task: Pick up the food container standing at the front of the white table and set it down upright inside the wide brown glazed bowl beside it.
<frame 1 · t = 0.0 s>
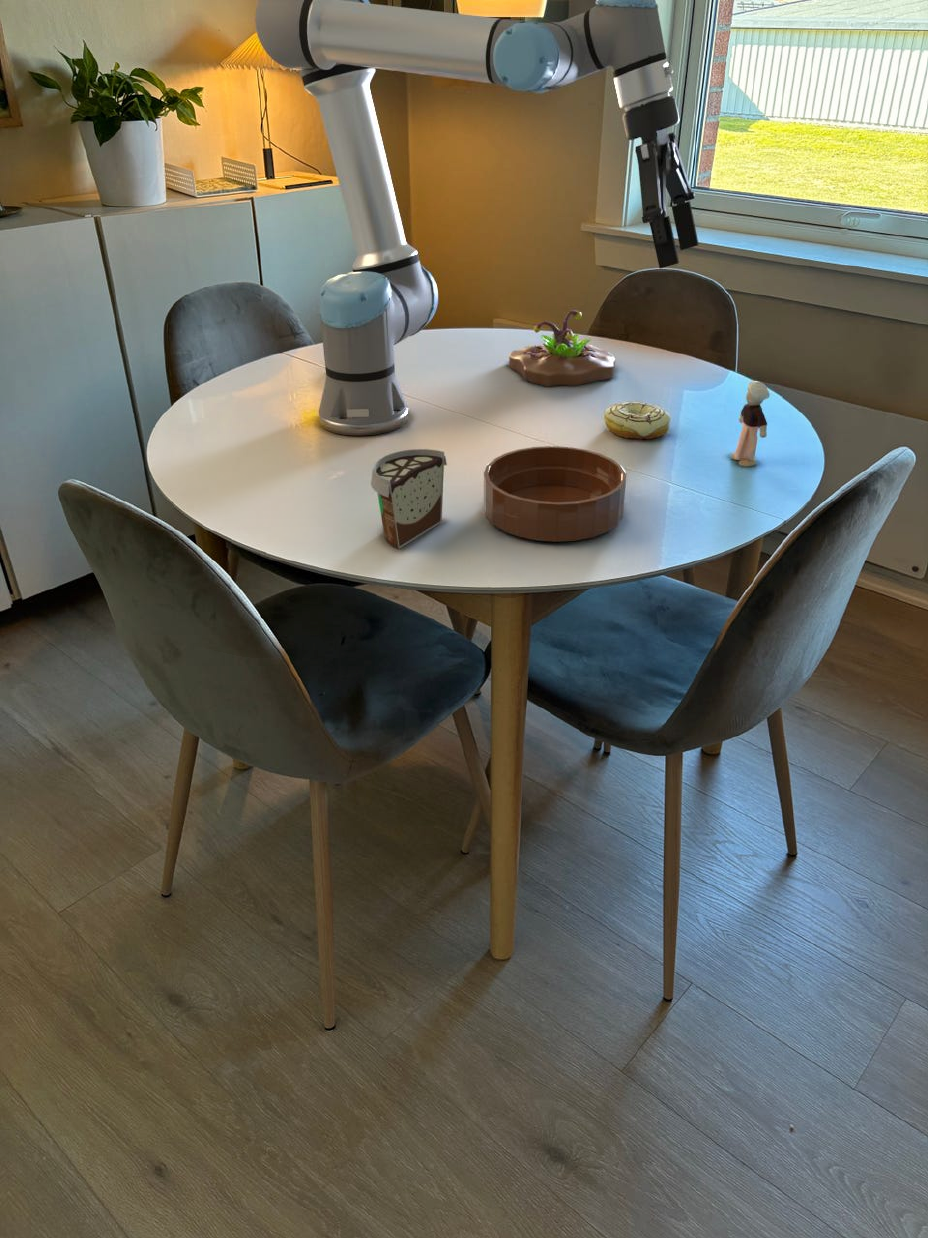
hand: (679, 256, 139), 28 cm above the table, tool tilted 20°, fingers open, 13 cm apart
decorated donut: (635, 431, 156), on the table
bowl: (553, 512, 130), on the table
grandmother figurine: (744, 463, 144), on the table
food container: (403, 530, 126), on the table
plant: (564, 370, 183), on the table
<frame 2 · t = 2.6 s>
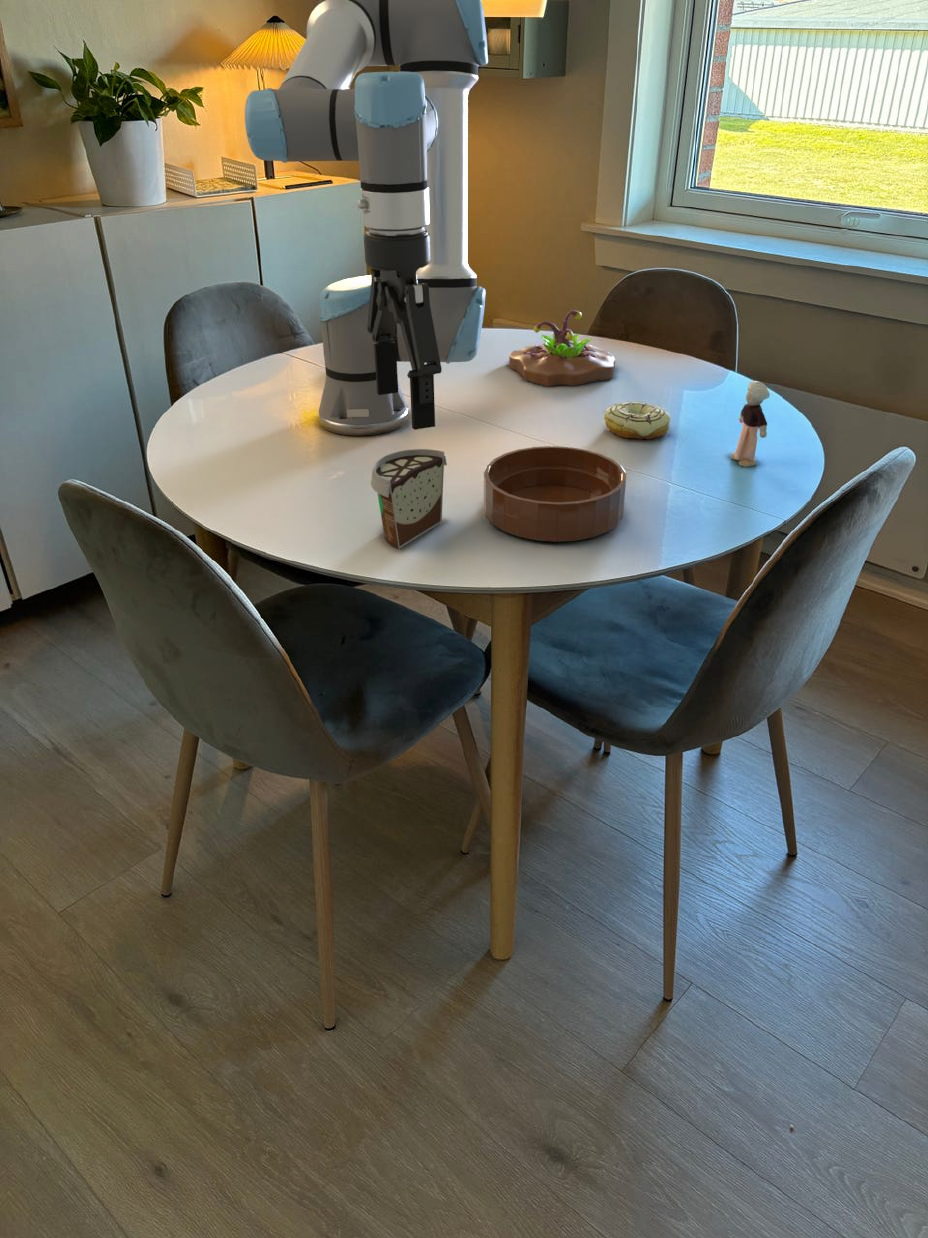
hand: (404, 409, 117), 17 cm above the table, tool pointing down, fingers open, 13 cm apart
nothing on the table moved.
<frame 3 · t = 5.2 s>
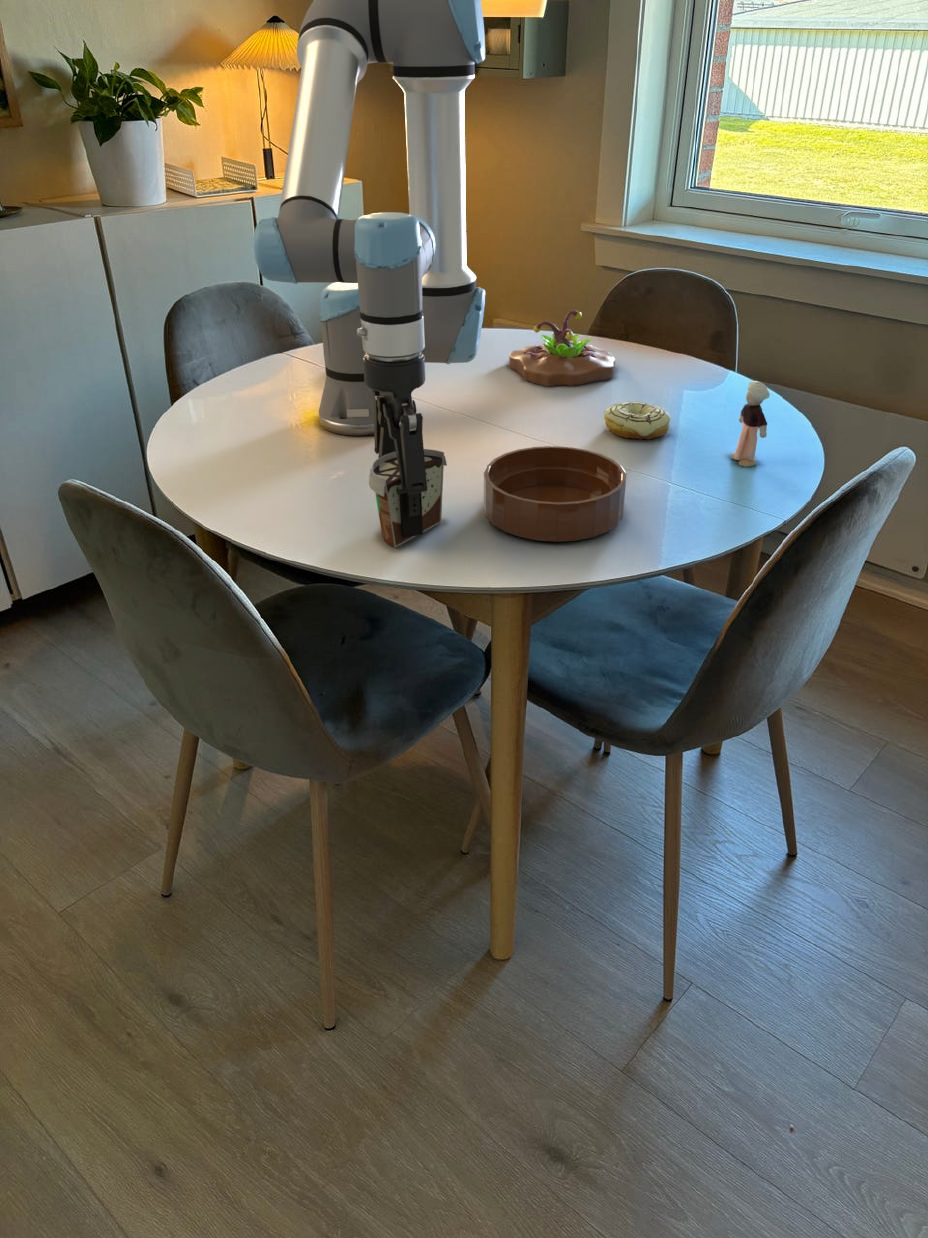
hand: (402, 521, 125), 1 cm above the table, tool pointing down, fingers closed on food container, 8 cm apart
food container: (401, 529, 126), on the table, touching gripper
everything else where it was.
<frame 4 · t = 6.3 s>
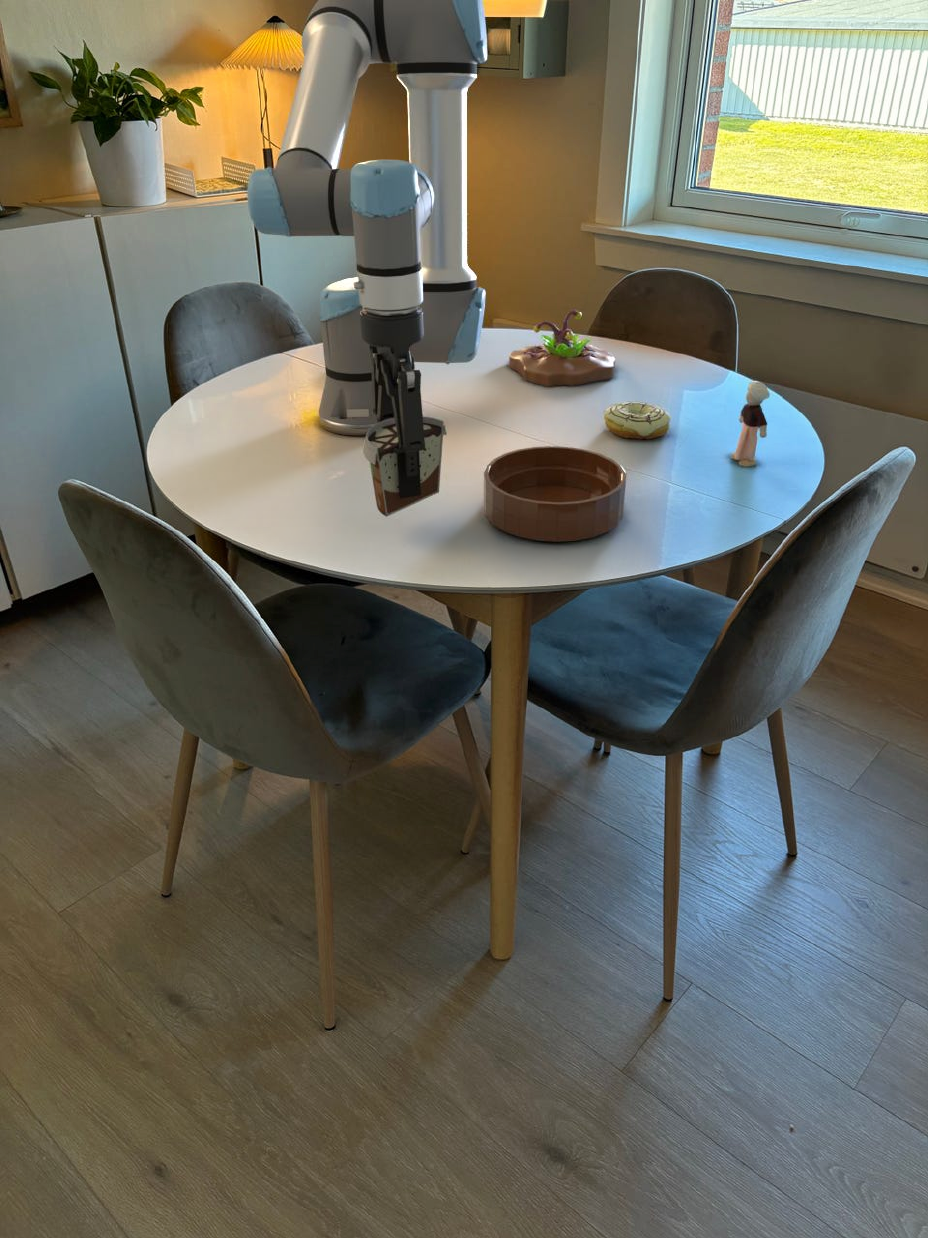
hand: (400, 483, 123), 7 cm above the table, tool pointing down, fingers closed on food container, 7 cm apart
food container: (397, 497, 125), point 4 cm above the table, touching gripper
everything else where it was.
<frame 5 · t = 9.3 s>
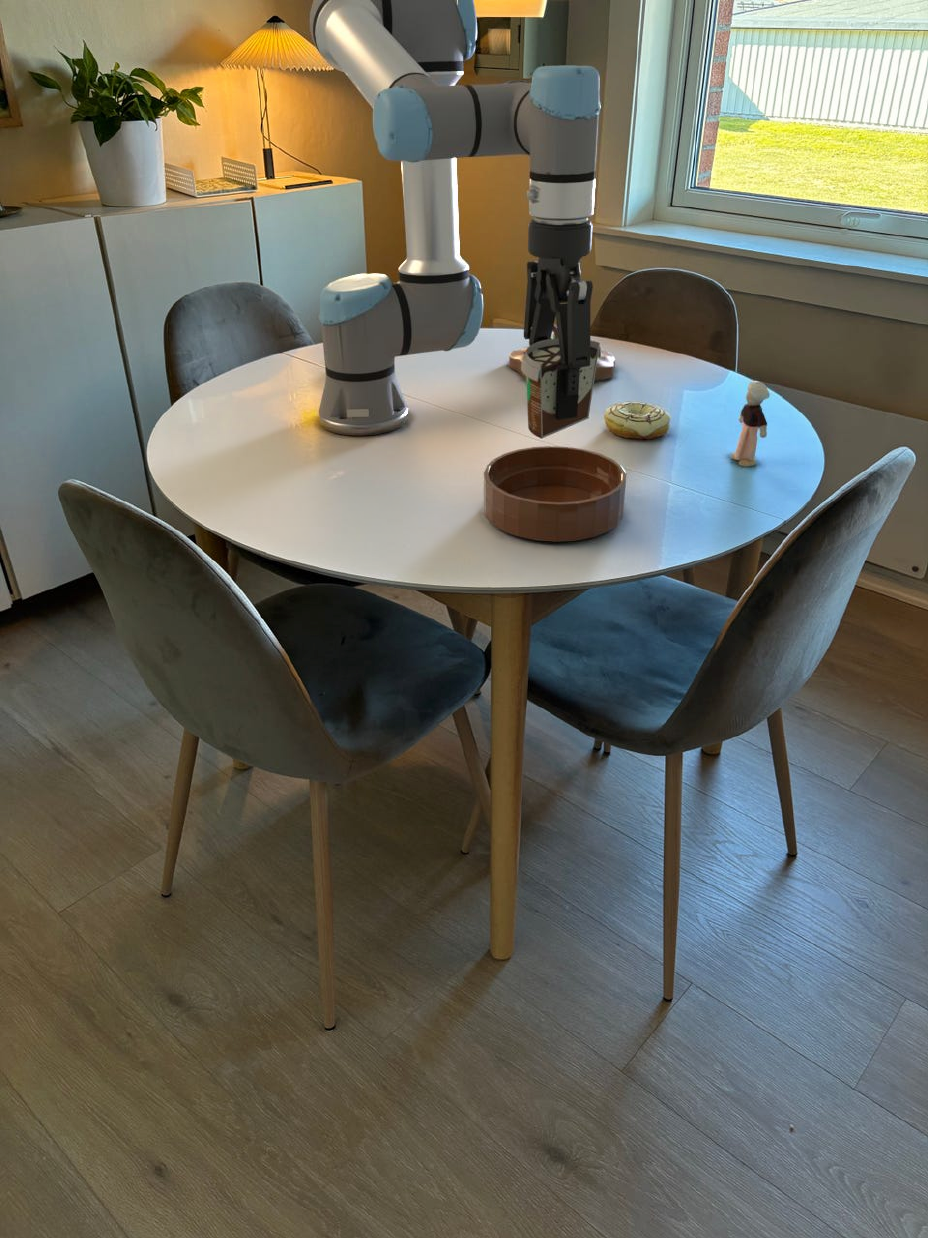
hand: (553, 407, 121), 15 cm above the table, tool pointing down, fingers closed on food container, 7 cm apart
food container: (547, 422, 123), point 13 cm above the table, touching gripper
everything else where it was.
when the fingers open (3 cm above the table, at t = 12.4 s): food container stays where it is, resting on bowl.
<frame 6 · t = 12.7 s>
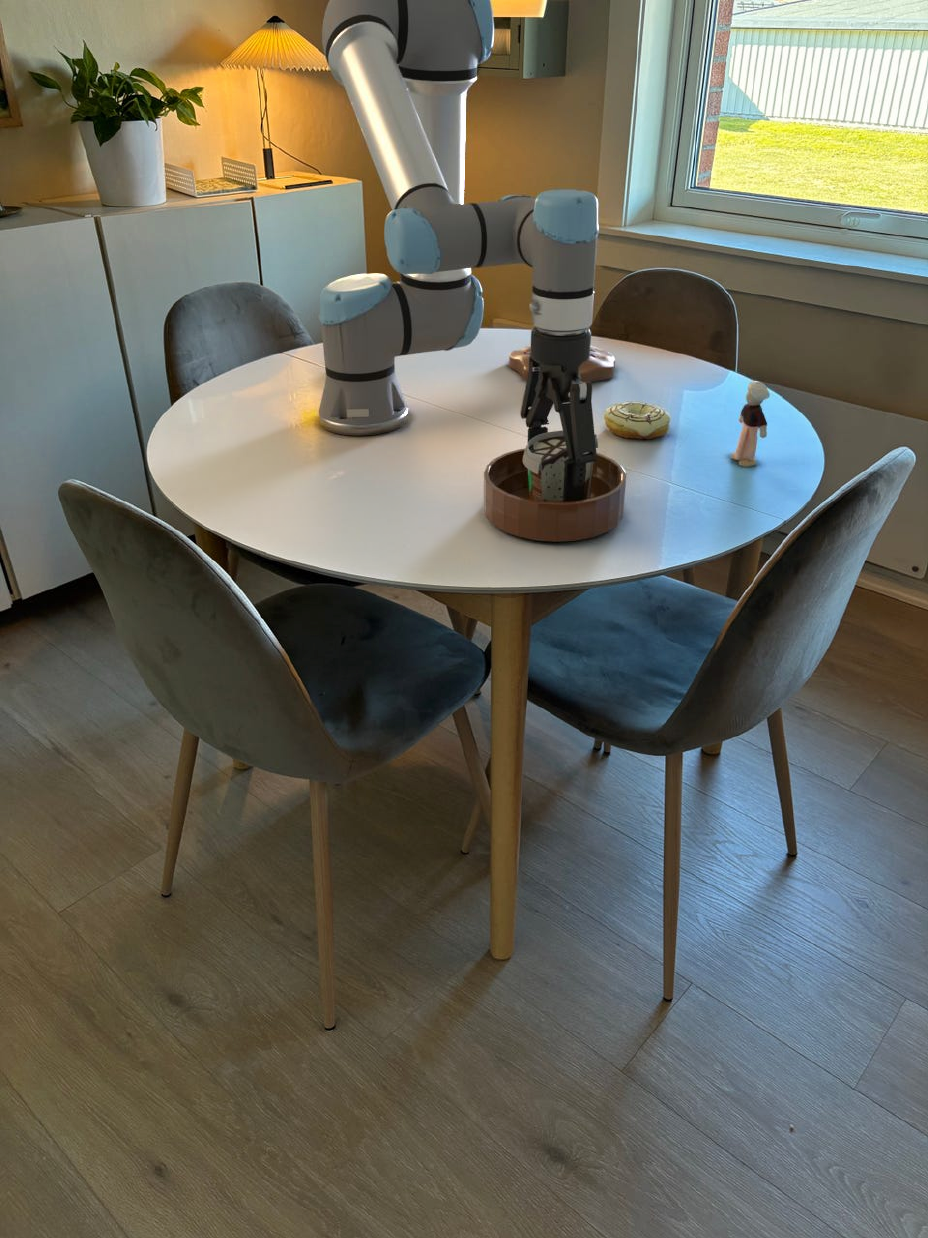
hand: (554, 488, 128), 4 cm above the table, tool pointing down, fingers open, 11 cm apart
food container: (549, 508, 130), resting on bowl
everything else where it was.
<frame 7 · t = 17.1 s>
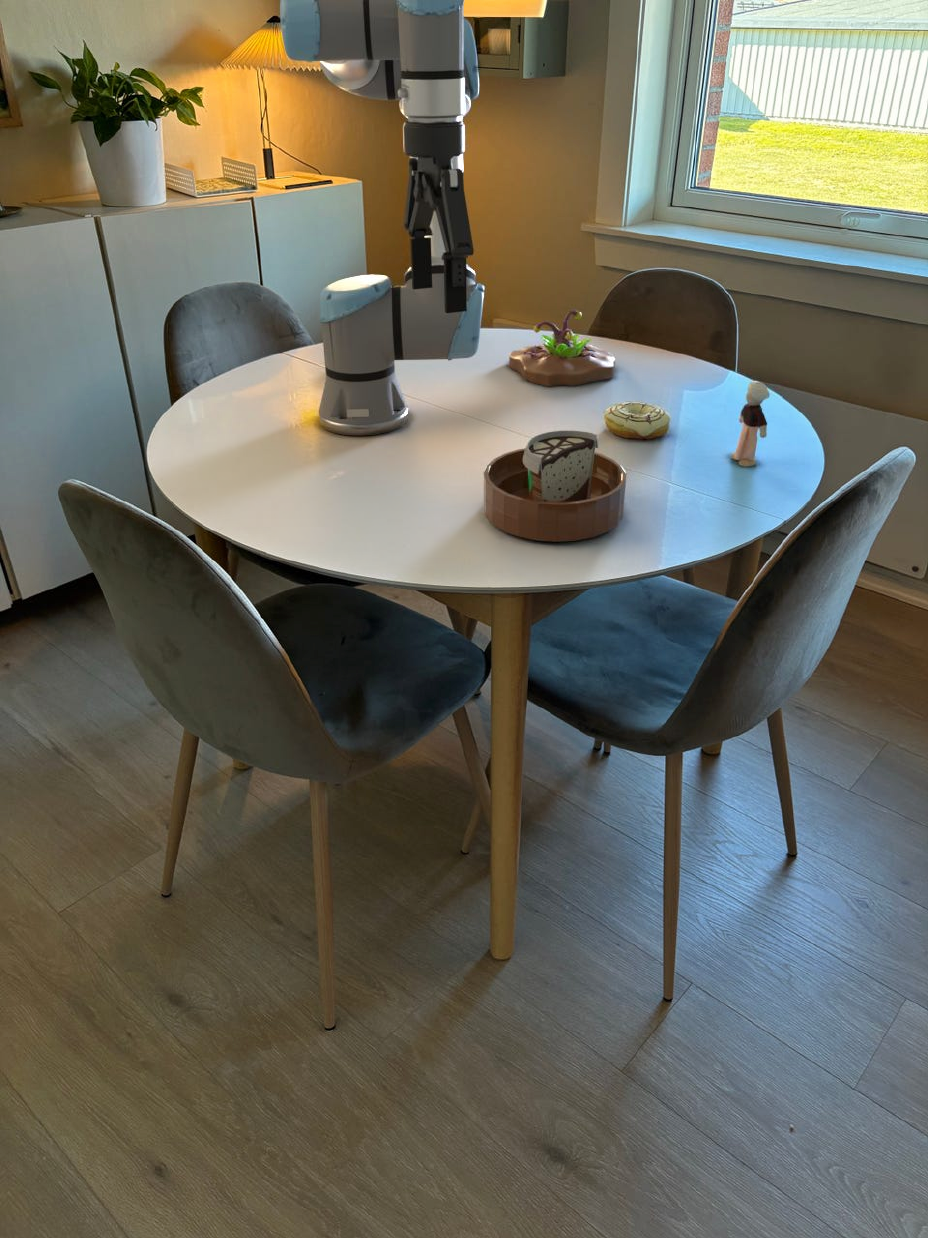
hand: (438, 299, 124), 27 cm above the table, tool pointing down, fingers open, 13 cm apart
nothing on the table moved.
at the end: food container inside the target area in the bowl (0.7 cm from its centre), point 0.4 cm above the bowl's base; food container tilted 0°; the gripper is holding nothing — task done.
